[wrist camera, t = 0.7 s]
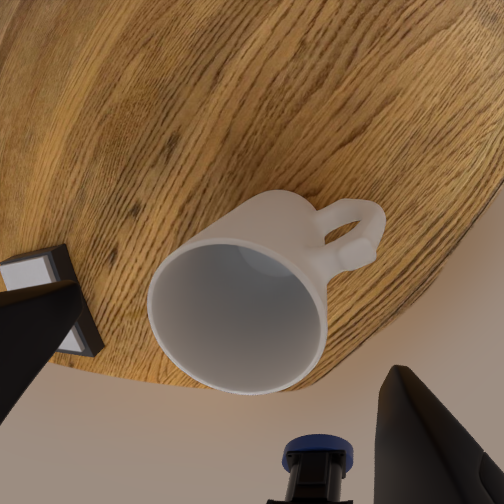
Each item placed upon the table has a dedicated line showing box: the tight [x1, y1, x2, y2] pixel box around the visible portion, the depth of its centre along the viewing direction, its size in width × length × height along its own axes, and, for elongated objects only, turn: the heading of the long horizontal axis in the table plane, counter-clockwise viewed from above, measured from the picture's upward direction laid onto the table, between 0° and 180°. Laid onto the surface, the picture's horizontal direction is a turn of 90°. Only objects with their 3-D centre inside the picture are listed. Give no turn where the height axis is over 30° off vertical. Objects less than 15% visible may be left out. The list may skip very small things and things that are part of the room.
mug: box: [147, 190, 386, 395], centre depth 16 cm, size 10×7×12 cm, turn 122°
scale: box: [0, 244, 105, 357], centre depth 29 cm, size 12×12×3 cm
